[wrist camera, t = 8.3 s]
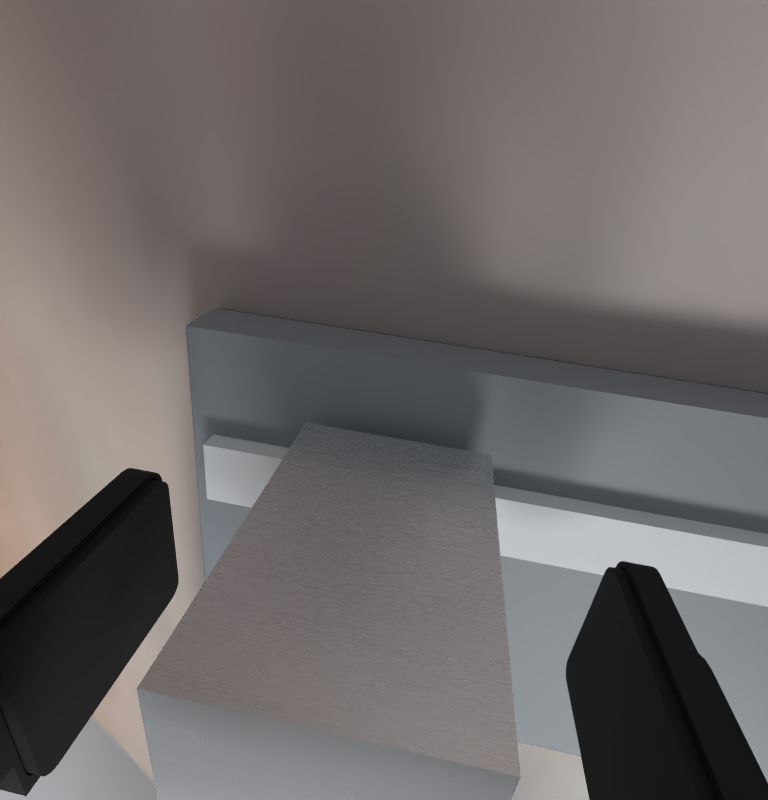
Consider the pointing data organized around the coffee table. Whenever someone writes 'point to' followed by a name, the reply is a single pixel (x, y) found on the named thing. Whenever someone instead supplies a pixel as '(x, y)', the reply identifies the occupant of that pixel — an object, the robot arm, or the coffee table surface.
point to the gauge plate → (522, 482)
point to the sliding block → (345, 637)
